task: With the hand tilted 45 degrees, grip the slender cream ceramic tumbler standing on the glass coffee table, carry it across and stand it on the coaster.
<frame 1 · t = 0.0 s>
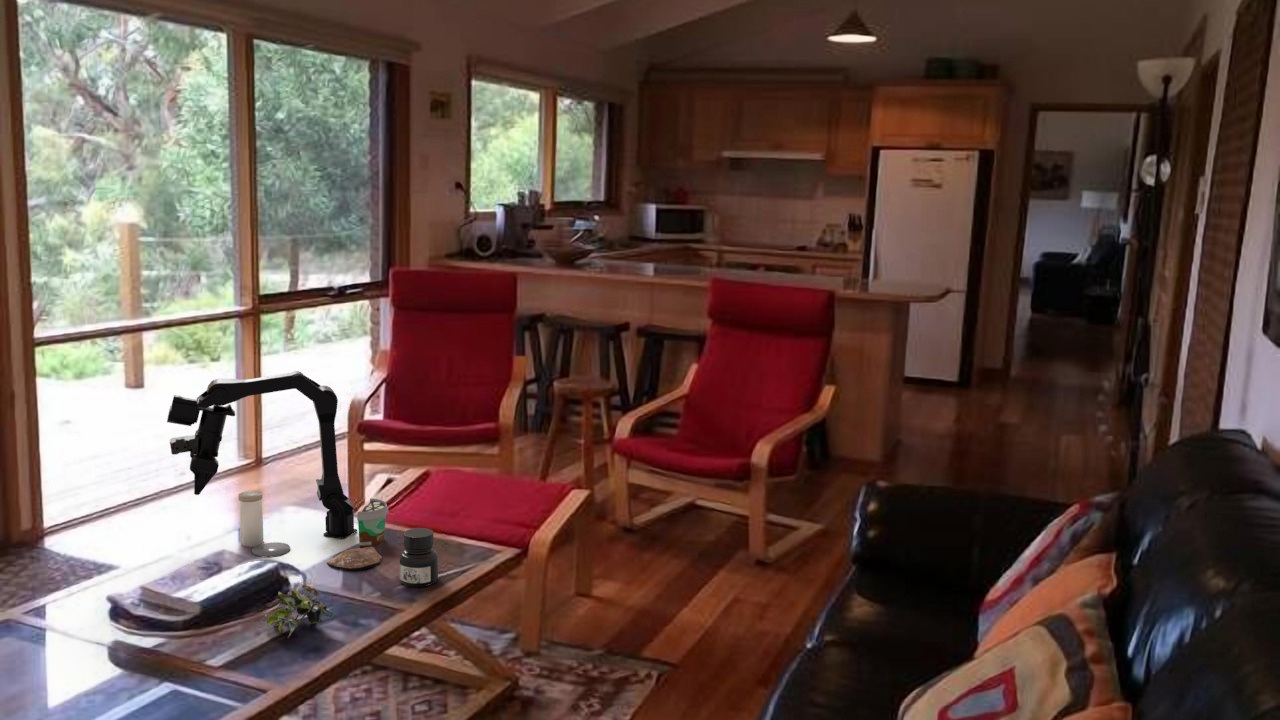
hand: (196, 489, 258), 15 cm above the table, tool pointing down, fingers open, 9 cm apart
shell: (356, 564, 255), on the table
ink bottle: (419, 581, 245), on the table
coaster: (271, 550, 261), on the table
green leafy plant: (298, 631, 216), on the table
tumbler: (252, 542, 266), on the table
food container: (376, 543, 269), on the table
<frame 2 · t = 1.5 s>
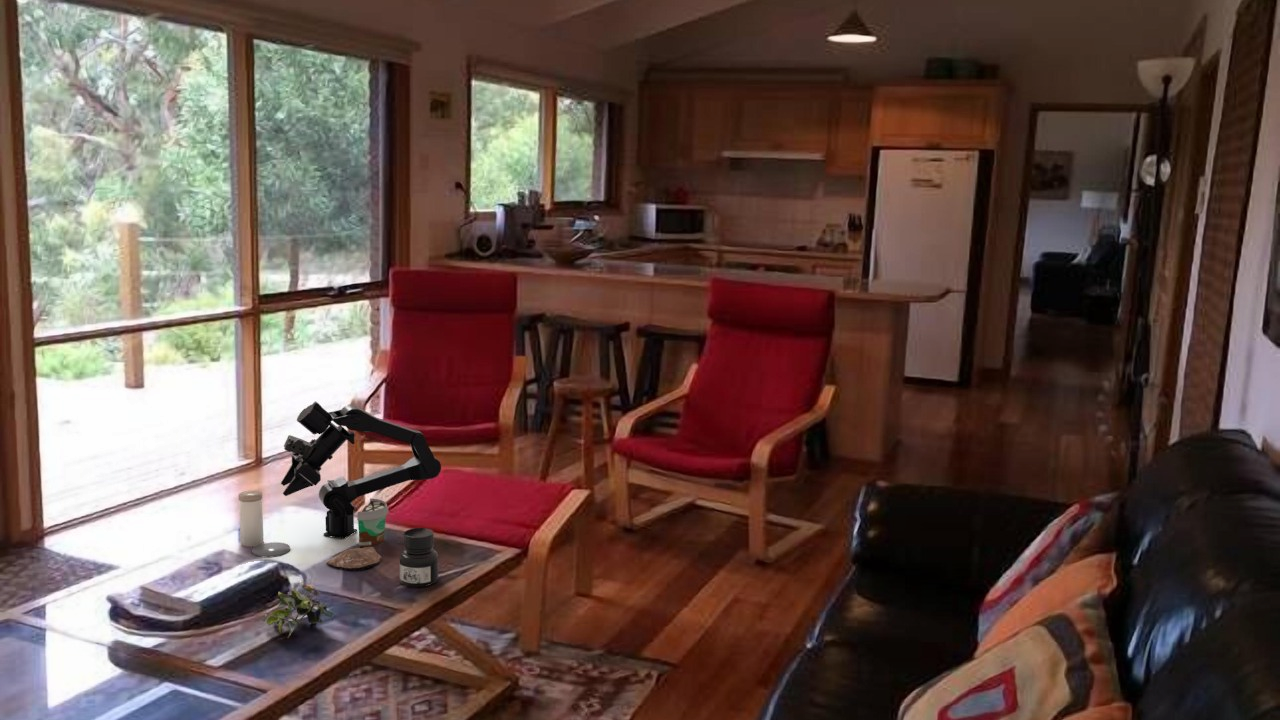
hand: (283, 489, 267), 13 cm above the table, tool tilted 45°, fingers open, 9 cm apart
nothing on the table moved.
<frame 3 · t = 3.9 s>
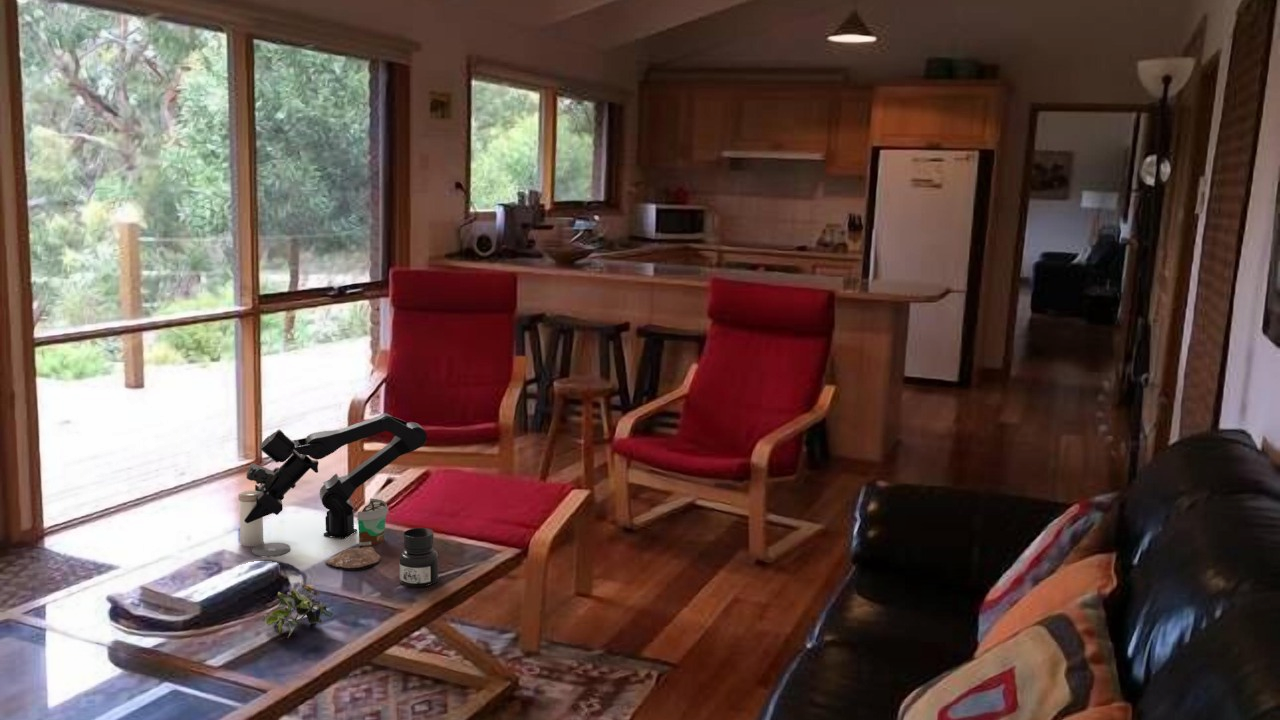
hand: (245, 518, 264), 7 cm above the table, tool tilted 45°, fingers closed on tumbler, 5 cm apart
tumbler: (252, 542, 266), on the table, touching gripper
everything else where it was.
when the fingers open (8 cm above the table, at t = 6.6 s): tumbler drops 1 cm, resting on coaster.
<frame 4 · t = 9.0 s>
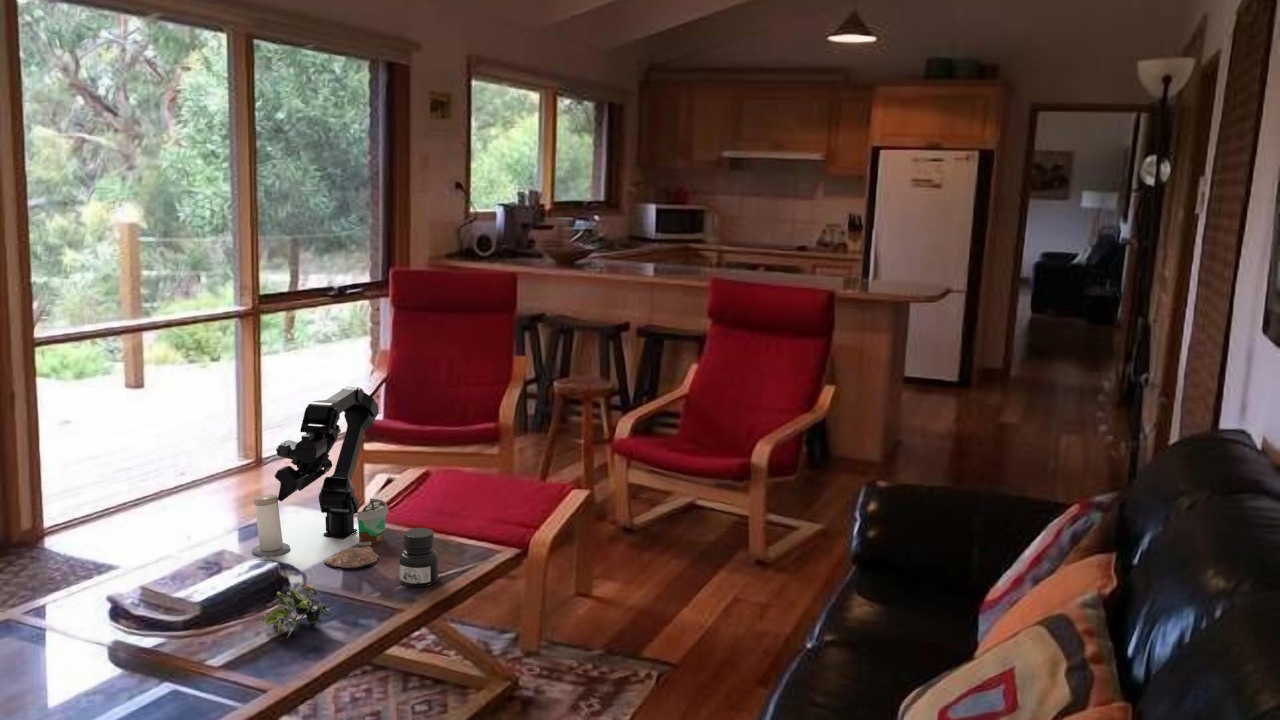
hand: (289, 495, 265), 13 cm above the table, tool tilted 35°, fingers open, 9 cm apart
tumbler: (271, 547, 261), point 1 cm above the table, tilted 5°, touching coaster
everything else where it was.
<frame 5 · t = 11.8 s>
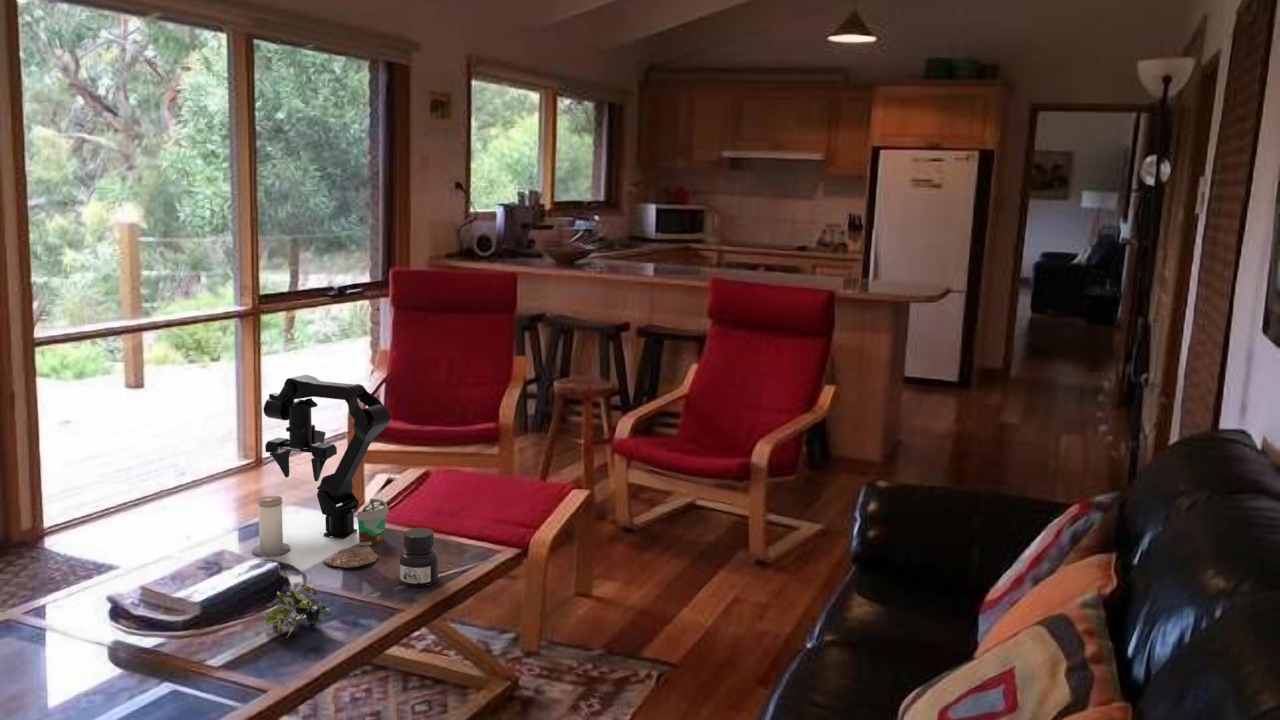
hand: (301, 479, 278), 13 cm above the table, tool pointing down, fingers open, 9 cm apart
tumbler: (271, 548, 261), point 1 cm above the table, touching coaster
at the end: tumbler inside the target area on the coaster (0.1 cm from its centre), point 0.5 cm above the coaster's base; tumbler tilted 0°; the gripper is holding nothing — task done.
